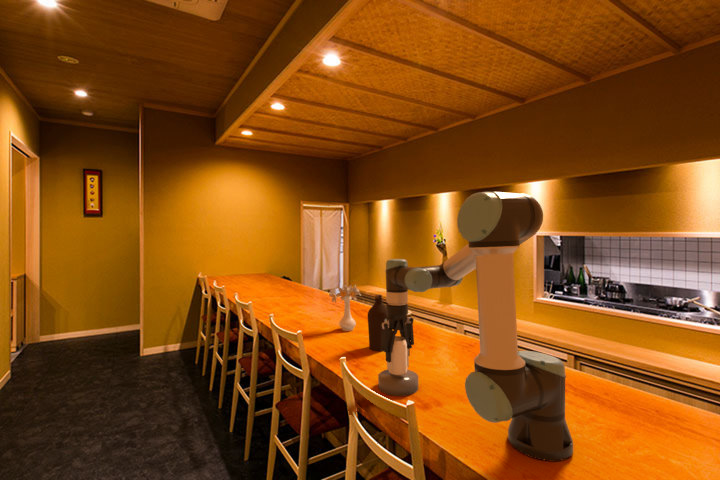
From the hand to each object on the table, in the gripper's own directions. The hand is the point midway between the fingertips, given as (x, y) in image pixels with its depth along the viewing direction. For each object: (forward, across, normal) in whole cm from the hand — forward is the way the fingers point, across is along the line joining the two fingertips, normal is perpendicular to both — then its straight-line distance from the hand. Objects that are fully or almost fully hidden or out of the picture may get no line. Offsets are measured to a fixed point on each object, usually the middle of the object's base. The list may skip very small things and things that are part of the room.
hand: (398, 368), depth 132 cm
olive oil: (+7, -22, -38) cm, 44 cm away
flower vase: (+7, -28, -73) cm, 78 cm away
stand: (+7, 0, 0) cm, 7 cm away
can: (+2, 0, 0) cm, 2 cm away
